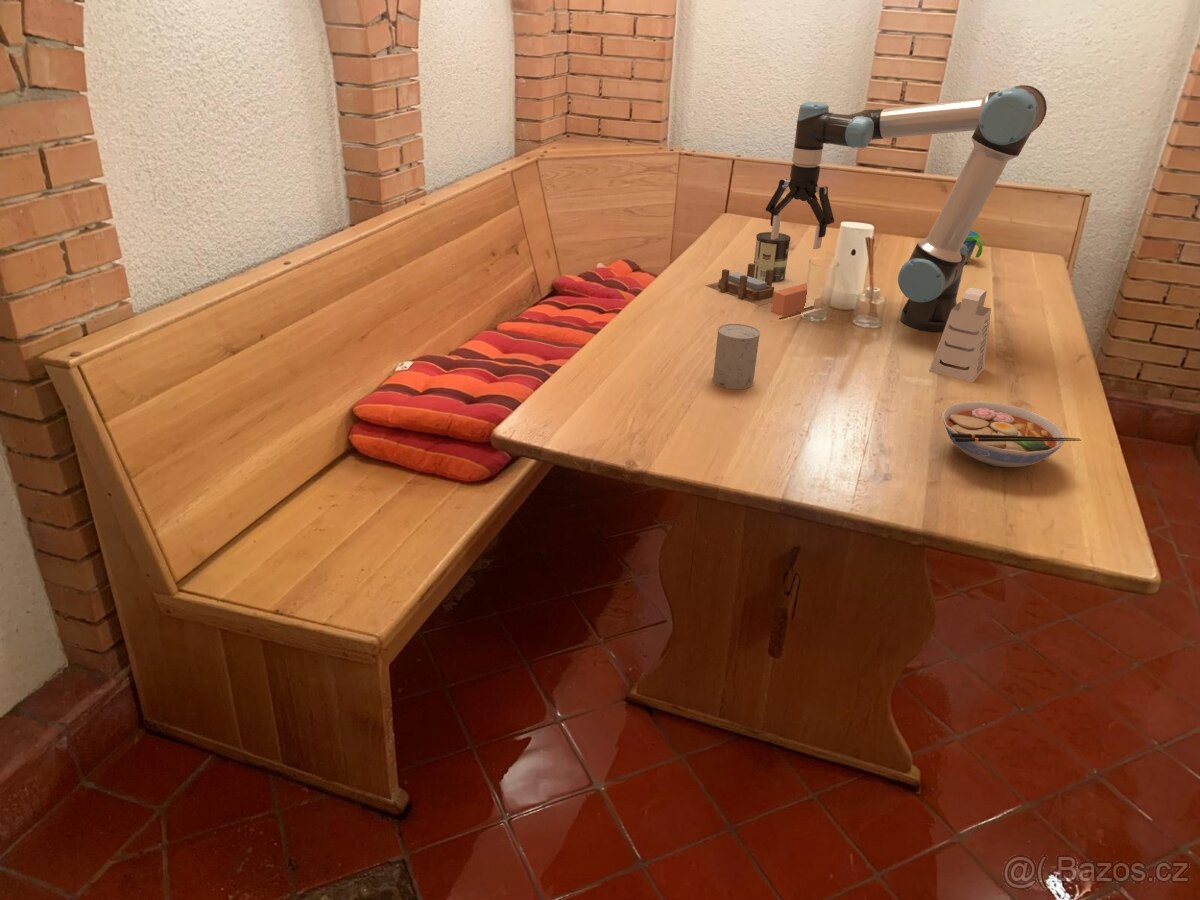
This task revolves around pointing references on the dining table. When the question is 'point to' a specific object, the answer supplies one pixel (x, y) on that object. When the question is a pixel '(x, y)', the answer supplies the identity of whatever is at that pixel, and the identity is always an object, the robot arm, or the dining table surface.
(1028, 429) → the ramen bowl
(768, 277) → the jig
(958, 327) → the grater
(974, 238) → the snack cup
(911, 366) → the dining table surface
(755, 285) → the blue-grey block
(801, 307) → the orange block
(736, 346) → the grey concrete cylinder
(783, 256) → the coffee can
